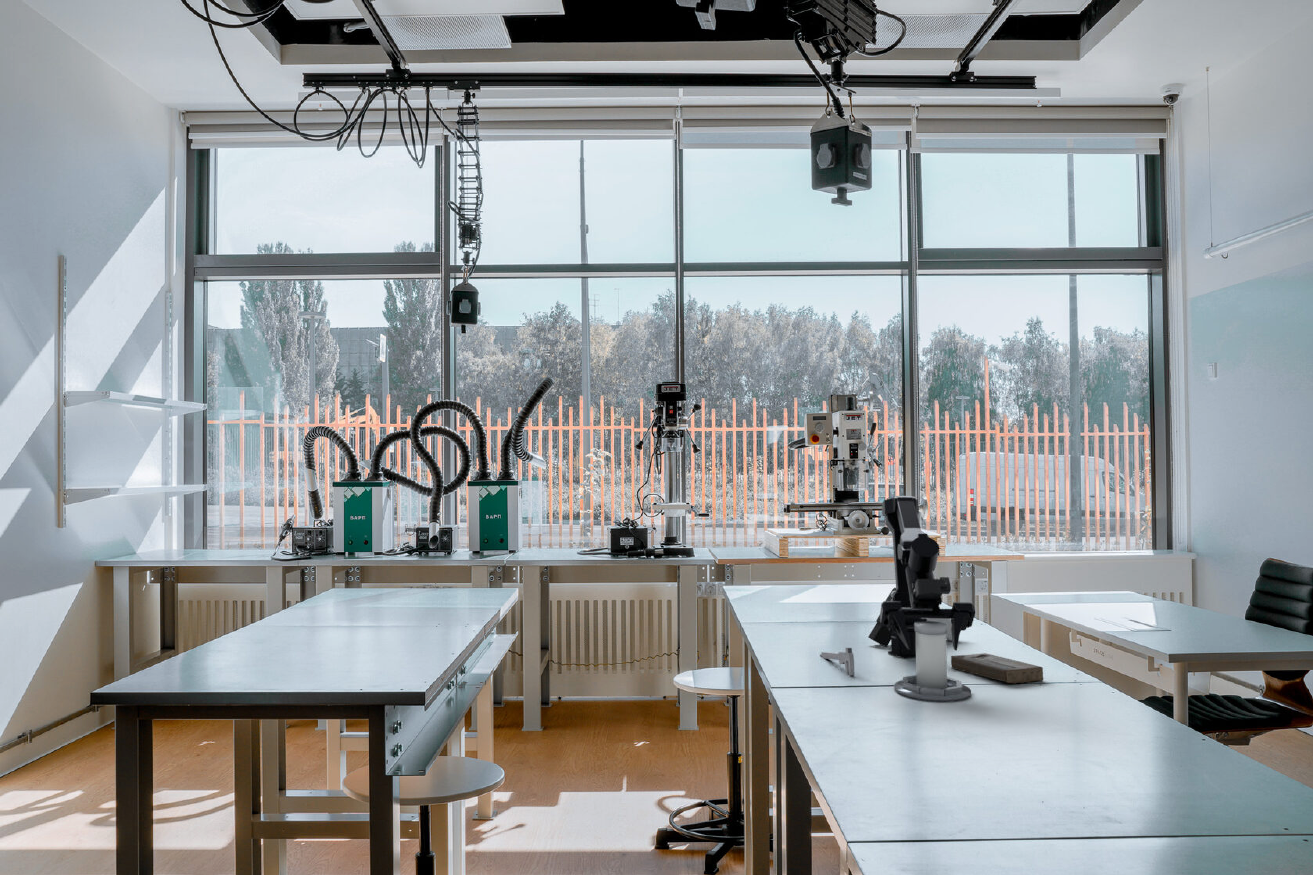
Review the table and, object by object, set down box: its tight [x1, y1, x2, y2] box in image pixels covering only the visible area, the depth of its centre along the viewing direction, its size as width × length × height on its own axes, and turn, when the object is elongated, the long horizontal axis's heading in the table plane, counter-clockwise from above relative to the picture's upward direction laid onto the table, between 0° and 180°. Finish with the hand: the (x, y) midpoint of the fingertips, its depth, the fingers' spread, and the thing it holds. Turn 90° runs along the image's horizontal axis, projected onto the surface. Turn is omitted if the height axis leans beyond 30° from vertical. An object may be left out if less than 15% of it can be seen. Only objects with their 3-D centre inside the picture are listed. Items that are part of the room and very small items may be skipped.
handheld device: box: [867, 587, 953, 648], centre depth 217 cm, size 4×22×15 cm, turn 105°
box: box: [950, 652, 1044, 685], centre depth 184 cm, size 11×17×3 cm, turn 21°
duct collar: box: [893, 674, 972, 703], centre depth 170 cm, size 15×15×2 cm
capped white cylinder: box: [914, 621, 948, 689], centre depth 170 cm, size 6×6×13 cm
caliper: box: [819, 647, 855, 677], centre depth 193 cm, size 20×1×6 cm, turn 8°
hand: (932, 648), depth 169 cm, fingers open, 9 cm apart
